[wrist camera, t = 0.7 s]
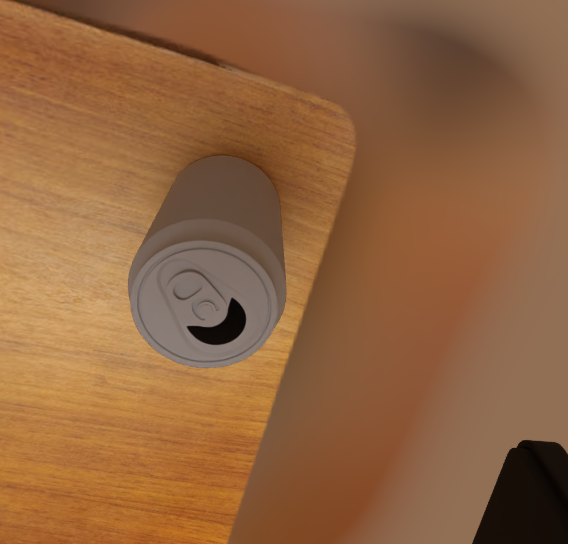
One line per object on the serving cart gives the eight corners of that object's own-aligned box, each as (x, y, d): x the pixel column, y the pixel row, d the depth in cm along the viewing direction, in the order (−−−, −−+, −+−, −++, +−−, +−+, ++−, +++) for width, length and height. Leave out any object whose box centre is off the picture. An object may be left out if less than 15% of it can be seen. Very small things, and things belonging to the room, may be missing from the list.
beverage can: (214, 274, 34) (191, 402, 23) (146, 192, 31) (83, 292, 20) (301, 218, 32) (320, 327, 21) (236, 128, 30) (220, 198, 19)
